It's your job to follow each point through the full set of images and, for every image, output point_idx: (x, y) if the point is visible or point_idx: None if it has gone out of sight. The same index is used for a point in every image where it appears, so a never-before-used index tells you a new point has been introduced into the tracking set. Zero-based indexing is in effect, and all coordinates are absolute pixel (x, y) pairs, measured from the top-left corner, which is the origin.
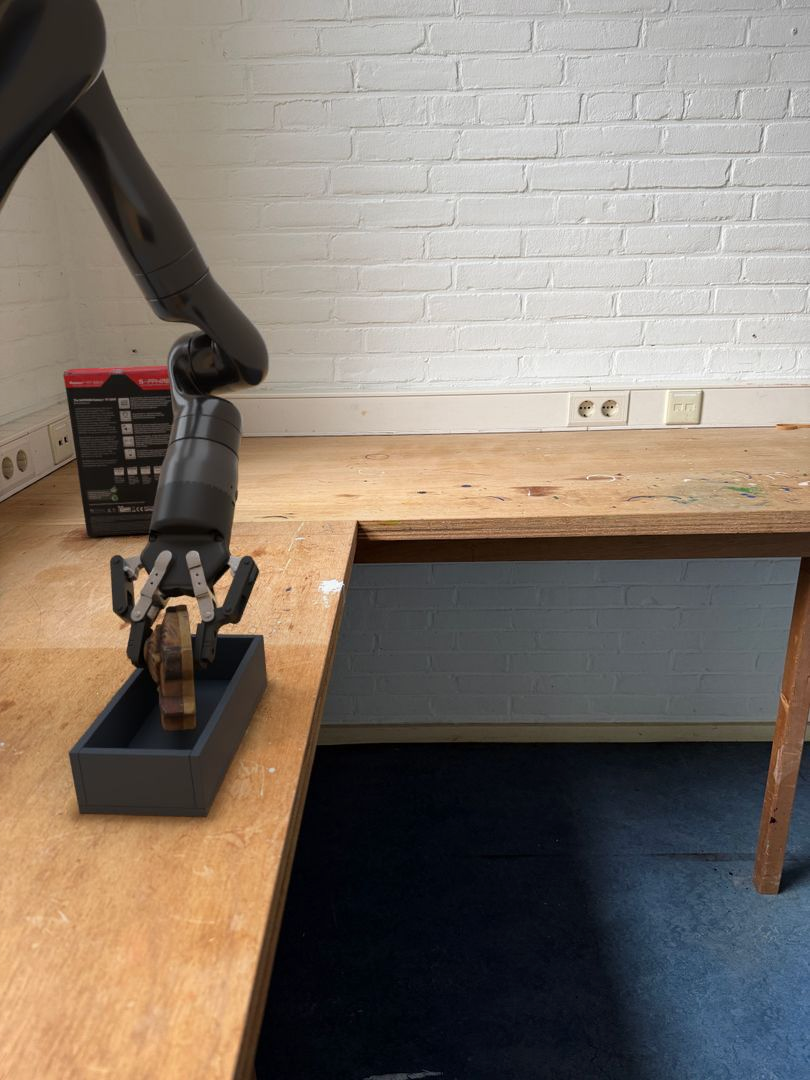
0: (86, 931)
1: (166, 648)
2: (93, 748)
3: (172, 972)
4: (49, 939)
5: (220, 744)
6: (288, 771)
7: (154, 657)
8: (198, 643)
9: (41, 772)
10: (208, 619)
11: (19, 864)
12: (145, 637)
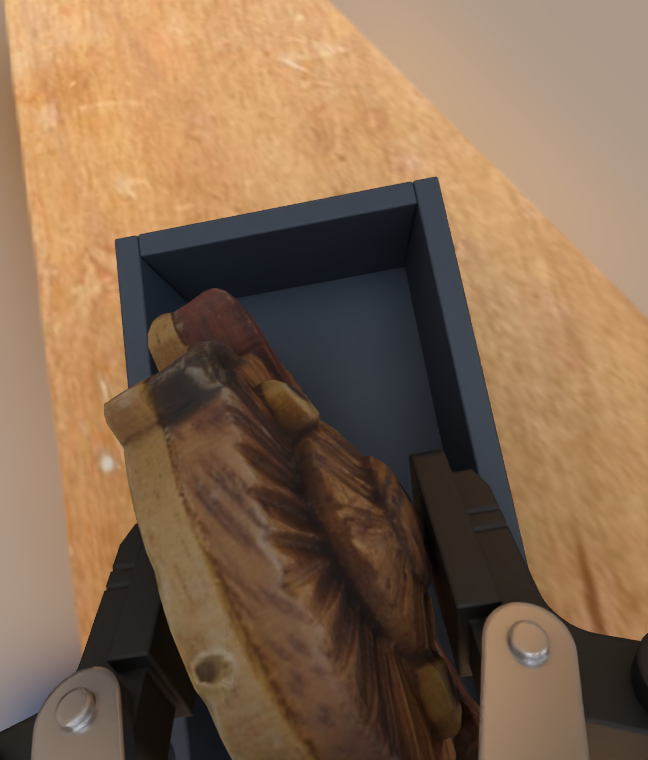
0: (245, 52)
1: (216, 390)
2: (384, 203)
3: (102, 30)
4: (287, 29)
5: None
6: (72, 465)
7: (287, 388)
8: None
9: (590, 349)
10: (77, 681)
11: (433, 127)
12: (438, 567)
